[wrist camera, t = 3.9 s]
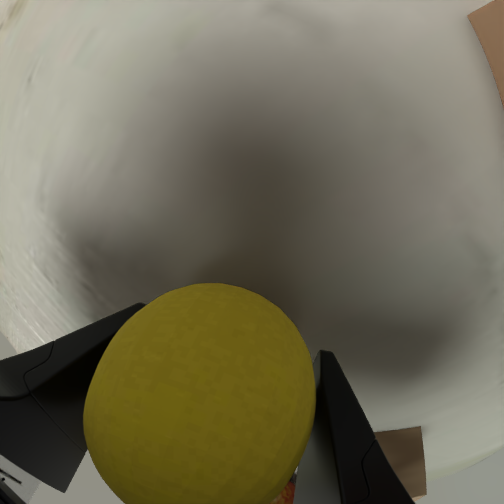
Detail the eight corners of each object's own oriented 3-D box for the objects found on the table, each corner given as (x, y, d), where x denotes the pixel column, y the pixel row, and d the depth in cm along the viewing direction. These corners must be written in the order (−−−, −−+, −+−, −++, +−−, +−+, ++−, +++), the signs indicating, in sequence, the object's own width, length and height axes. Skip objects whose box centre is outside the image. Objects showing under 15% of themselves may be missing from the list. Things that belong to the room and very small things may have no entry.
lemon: (251, 375, 11) (195, 541, 4) (150, 298, 11) (31, 454, 4) (353, 313, 9) (350, 564, 2) (230, 200, 8) (5, 459, 1)
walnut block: (420, 425, 11) (426, 494, 7) (398, 454, 14) (398, 510, 9) (343, 432, 13) (337, 506, 8) (334, 459, 15) (327, 516, 10)
